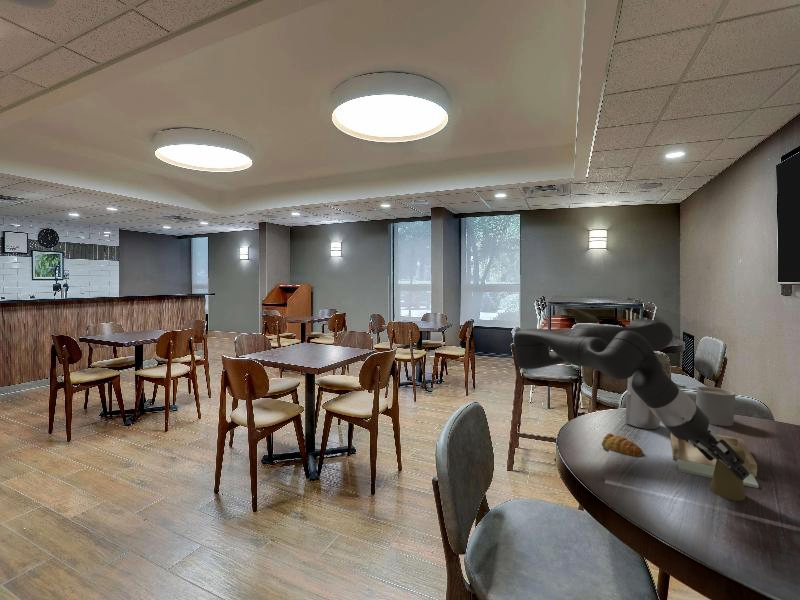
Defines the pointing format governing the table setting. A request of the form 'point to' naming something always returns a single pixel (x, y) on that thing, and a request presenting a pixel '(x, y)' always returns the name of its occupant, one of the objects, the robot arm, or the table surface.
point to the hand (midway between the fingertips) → (728, 466)
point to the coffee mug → (716, 405)
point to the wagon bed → (692, 454)
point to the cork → (728, 479)
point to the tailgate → (709, 471)
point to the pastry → (621, 445)
